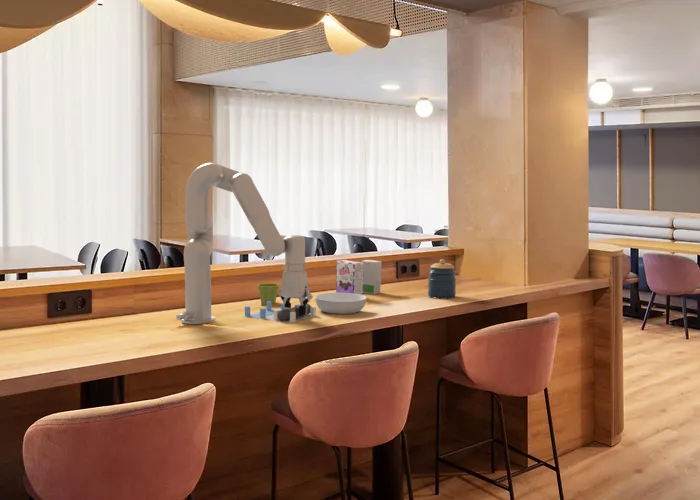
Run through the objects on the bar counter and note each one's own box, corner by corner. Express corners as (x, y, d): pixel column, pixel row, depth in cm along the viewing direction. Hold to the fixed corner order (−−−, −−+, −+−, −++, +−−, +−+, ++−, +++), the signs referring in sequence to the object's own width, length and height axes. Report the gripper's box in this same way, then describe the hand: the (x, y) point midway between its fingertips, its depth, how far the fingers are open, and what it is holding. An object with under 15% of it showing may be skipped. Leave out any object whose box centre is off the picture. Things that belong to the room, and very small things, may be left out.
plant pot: (260, 307, 292) (260, 287, 291) (254, 303, 301) (254, 283, 300) (281, 306, 296) (281, 285, 295) (275, 302, 304) (275, 282, 304)
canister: (451, 294, 331) (452, 257, 329) (459, 298, 318) (460, 260, 317) (424, 294, 330) (425, 257, 328) (431, 299, 317) (432, 260, 315)
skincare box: (359, 293, 332) (360, 260, 331) (366, 291, 338) (366, 259, 336) (375, 294, 328) (375, 261, 327) (381, 292, 334) (382, 260, 332)
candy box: (335, 295, 325) (335, 260, 324) (345, 294, 329) (345, 259, 327) (353, 299, 314) (353, 263, 313) (363, 298, 318) (363, 262, 316)
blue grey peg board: (290, 325, 256) (290, 313, 255) (242, 318, 267) (242, 307, 267) (317, 317, 271) (317, 306, 271) (270, 311, 283) (270, 300, 282)
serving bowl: (320, 319, 268) (320, 301, 268) (310, 309, 289) (310, 293, 288) (372, 317, 273) (372, 300, 272) (359, 307, 293) (359, 291, 293)
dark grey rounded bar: (286, 321, 257) (286, 310, 257) (277, 320, 259) (277, 309, 259) (312, 314, 272) (312, 304, 271) (303, 313, 274) (303, 303, 273)
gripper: (270, 267, 265) (271, 313, 267) (308, 270, 256) (308, 318, 258) (282, 265, 271) (282, 310, 273) (319, 268, 262) (319, 315, 264)
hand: (295, 314), depth 265 cm, fingers open, 6 cm apart
